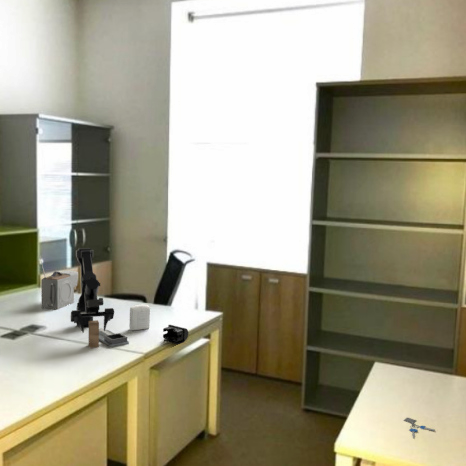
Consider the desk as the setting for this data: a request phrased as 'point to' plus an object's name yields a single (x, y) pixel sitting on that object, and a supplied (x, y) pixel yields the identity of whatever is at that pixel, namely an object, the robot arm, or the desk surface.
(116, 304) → the desk surface
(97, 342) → the brown tall block
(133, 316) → the photo printer
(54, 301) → the portable television
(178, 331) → the end cap
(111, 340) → the rail
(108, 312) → the robot arm
